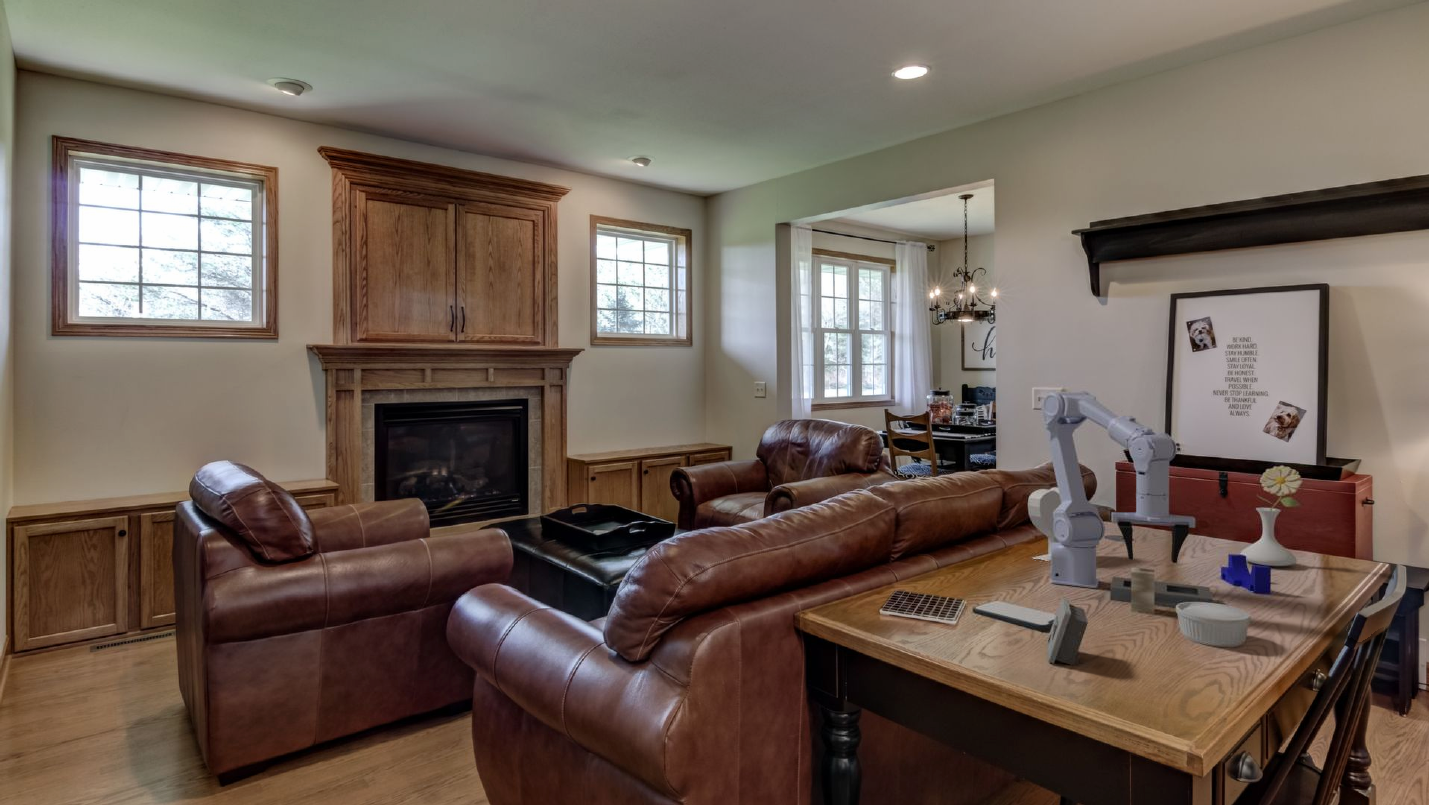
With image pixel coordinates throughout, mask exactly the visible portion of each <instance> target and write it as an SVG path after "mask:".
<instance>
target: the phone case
mask: <svg viewBox="0 0 1429 805" xmlns="http://www.w3.org/2000/svg"><path fill="white" fill-rule="evenodd" d="M972 612H973V613H974V614H976V615H979V616H982V617H983V616H984V617H986V618H989V619H994V620H997V621H1000V622H1005V623H1008V624H1010V625H1011V624H1012V625H1015V626H1017V627H1022V628H1024V629H1025V628H1026V629H1029V630H1032V631H1036V632H1040V633H1048V632H1050V631H1051V628H1052V625H1053V622H1054V619H1055V616H1056V614H1055V613H1051V612H1045V611H1042V610H1038V609H1033V608H1029V607H1025V606H1021V605H1016V604H1012V603H1009V602H1004V601H999V600H991V601H989V602H985V603H982V604H978V605H976V606H974V607H972Z"/></svg>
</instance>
